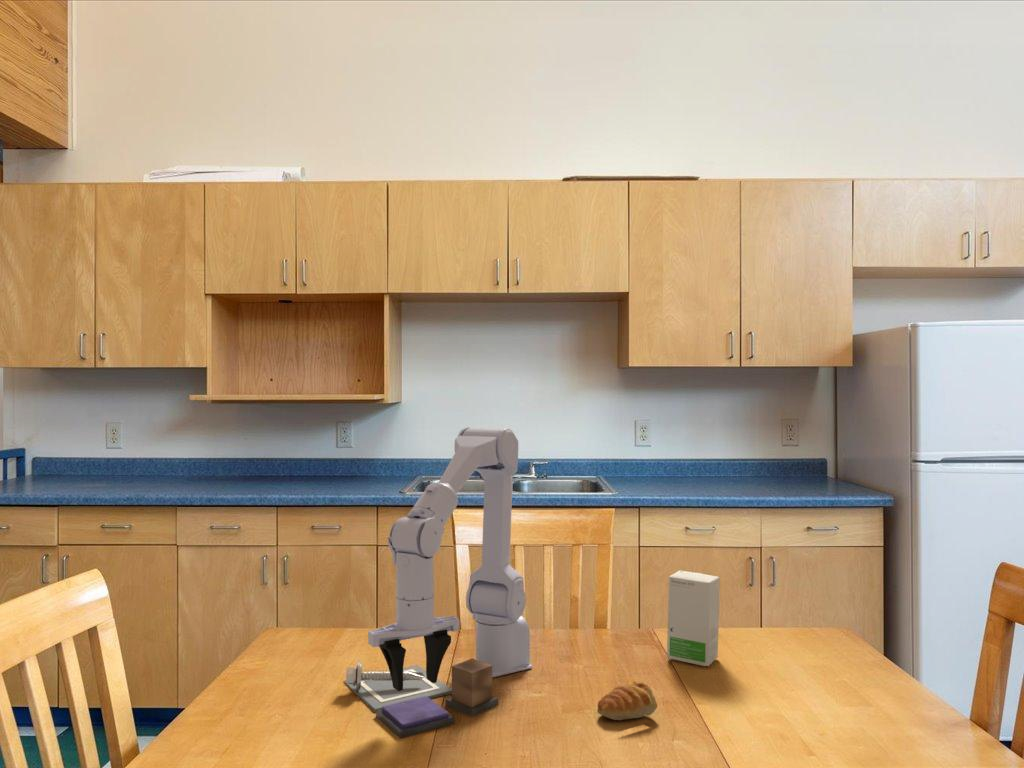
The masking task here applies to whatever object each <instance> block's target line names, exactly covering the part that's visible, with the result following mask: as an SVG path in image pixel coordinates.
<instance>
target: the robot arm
mask: <svg viewBox="0 0 1024 768" xmlns="http://www.w3.org/2000/svg"><path fill="white" fill-rule="evenodd" d="M518 464H519V440H518V438H517V436H516V434H515V432H514V431H513V430H512V429H510V428H509V427H507V428H476V427H475V428H473V427H472V428H471V427H469V426H468V427H464V428H461V430H460V431H459V432H458V435H457V436H456V438H454V454H453V456H452V457H451V460H450V462H449V463H448V465H447V467H446V469H445V470H444V472H443V474H442V475H441V477H440V479H439V481H438V482H432V483H430V484H428V485H427V486H426V488H425V489H424V491H423V493H422V494H421V495H420V496H419V498H418V499H417V500H416V503H414V505H413V506H412V508H411V510H409V512H408V514H407V515H406V516H402V517H400V518H399V519H398V520H396V521H394V523H393V524H392V526H391V528H390V530H389V535H388V537H387V544H388V548H389V550H390V552H391V555H392V563H393V565H394V566H395V579H396V580H395V584H396V587H395V590H396V591H395V596H396V597H395V598H396V599H395V600H396V601H395V602H396V604H395V607H396V608H395V609H396V610H395V613H396V614H395V615H396V616H395V618H396V619H395V621H396V622H394V623H391V624H388V625H385V626H383V627H379V628H377V629H372V630H368V631H367V637H368V638H367V641H368V642H367V643H368V645H369V646H371V647H372V648H378V647H379V649H380V651H381V653H382V654H383V656H384V660H385V662H386V664H387V667H388V671H390V674H391V678H392V684H393V688H395V689H396V690H397V691H402V690H403V668H404V663H405V658H406V652H407V649H406V648H405V647H403V646H402V643H401V641H404V640H405V641H406V640H411V639H416V638H422V637H423V640H424V647H425V654H426V655H425V656H426V657H425V658H426V661H425V664H426V665H425V666H426V667H425V671H426V676H427V680H429V681H430V682H432V683H436V682H437V679H438V676H439V672H440V668H441V664H442V662H443V660H444V658H445V655H446V652H447V651H448V648H449V646H450V645H451V643H452V635H450V634H449V633H448V632H454V633H455V632H459V631H460V618H458V617H456V616H455V615H451V616H439V617H434V609H435V607H434V603H435V602H434V596H435V595H434V589H435V588H434V586H435V585H434V580H435V579H434V573H435V571H434V563H435V562H434V561H435V560H434V558H435V557H434V556H435V555H436V554H437V552H438V551H440V548H441V545H442V540H443V539H442V538H443V535H444V533H445V527H444V526H445V525H446V523H447V522H448V520H449V519H450V517H451V516H452V514H453V513H454V511H455V509H456V508H457V506H458V504H459V499H458V493H459V491H460V490H461V489H462V488H463V486H464V485H465V484H466V483H467V481H468V480H469V478H471V476H472V475H473V474H474V473H475V471H476V472H478V473H479V475H480V476H481V477H482V478H483V480H484V483H483V484H484V486H483V487H484V489H483V492H484V493H483V515H482V516H483V520H482V542H481V543H482V547H481V548H482V549H481V550H482V552H481V565H480V566H479V567H478V568H476V569H475V570H474V571H473V572H471V574H470V575H469V584H468V588H467V591H466V595H465V604H466V607H467V610H468V612H469V613H470V614H472V620H475V621H476V623H475V625H476V626H475V636H476V637H475V642H476V643H475V646H476V647H475V648H476V649H475V658H476V659H475V660H478V661H481V662H484V663H487V664H490V665H492V678H496V677H500V676H505V675H508V674H513V673H517V672H520V671H525V670H529V669H533V665H532V664H531V663H530V662H531V661H530V660H531V659H530V658H531V647H530V646H531V637H530V636H531V634H530V627H529V624H528V621H527V619H526V618H525V617H524V616H522V615H523V613H524V612H525V609H526V604H527V603H526V601H527V598H526V592H525V584H524V577H523V576H522V575H521V574H520V573H519V571H517V570H516V569H515V568H513V566H511V534H512V533H511V532H512V531H511V530H512V507H513V506H512V504H513V503H512V502H513V478H514V477H513V475H515V474H516V473H517V472H518Z"/></svg>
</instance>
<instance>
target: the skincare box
mask: <svg viewBox="0 0 1024 768" xmlns="http://www.w3.org/2000/svg"><path fill="white" fill-rule="evenodd" d="M720 579H721V577H720V576H716V575H711V574H705V573H701V572H693V571H686V570H680V569H679V570H678V571H676V572H675V573H673V574H671V575H669V576H668V604H667V605H668V607H667V640H666V642H667V644H666V658H667V659H669V660H675V661H680V662H684V663H689V664H692V665H693V664H694V665H698V666H703V667H706V666H708V667H709V666H710V665H711V664H712V663H713V662H714V661H715V660H716V659H717V658H718V657H719V656H718V655H719V620H720V619H719V618H720V616H719V615H720V584H721V582H720V581H721V580H720Z"/></svg>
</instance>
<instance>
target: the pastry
mask: <svg viewBox="0 0 1024 768" xmlns="http://www.w3.org/2000/svg"><path fill="white" fill-rule="evenodd" d="M653 693H654V692H653V691H652V688H651V687H650V686H649V685H648V684H647V683H645V682H643V681H638V682H637V681H633V682H632V683H630V684H628V683H627V684H623V685H618V686H615V687H614V688H613V689H612V690H611V691H609V692H608V693H606V694H605V695H604V696H603V697H601V698H600V700H598V702H597V710H596V711H597V714H599V715H601V716H603V717H606V718H608V719H611V720H614V721H622V720H632V719H638V718H643V717H644V716H650V715H652V714H653V713H655V711H656V710H657V708H658V703H657V700H656V696H655V695H654V694H653Z"/></svg>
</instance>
